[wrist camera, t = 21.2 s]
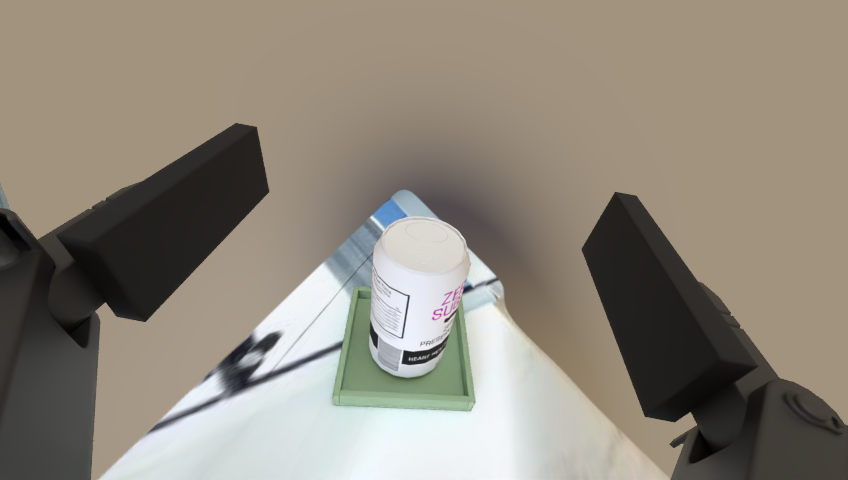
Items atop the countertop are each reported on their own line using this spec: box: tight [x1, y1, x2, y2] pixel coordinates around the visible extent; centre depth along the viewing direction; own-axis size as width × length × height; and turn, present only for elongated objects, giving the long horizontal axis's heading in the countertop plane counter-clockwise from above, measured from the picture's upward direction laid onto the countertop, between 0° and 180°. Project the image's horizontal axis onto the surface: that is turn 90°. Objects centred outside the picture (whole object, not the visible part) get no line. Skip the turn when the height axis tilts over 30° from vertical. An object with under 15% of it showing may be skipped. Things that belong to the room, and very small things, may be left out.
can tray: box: [333, 286, 475, 411], centre depth 36 cm, size 13×13×2 cm
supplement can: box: [369, 216, 471, 378], centre depth 32 cm, size 8×8×15 cm
